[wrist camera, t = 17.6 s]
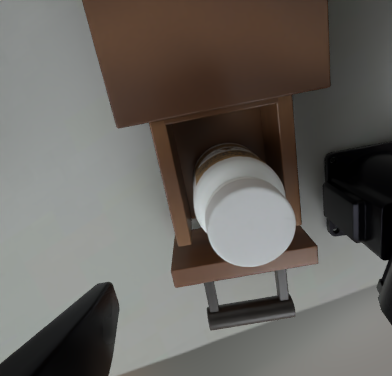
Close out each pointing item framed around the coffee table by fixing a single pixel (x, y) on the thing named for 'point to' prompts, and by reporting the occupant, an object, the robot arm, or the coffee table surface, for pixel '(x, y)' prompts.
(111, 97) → the cabinet
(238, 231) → the pill bottle
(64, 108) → the coffee table surface
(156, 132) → the drawer
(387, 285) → the robot arm
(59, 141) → the coffee table surface
